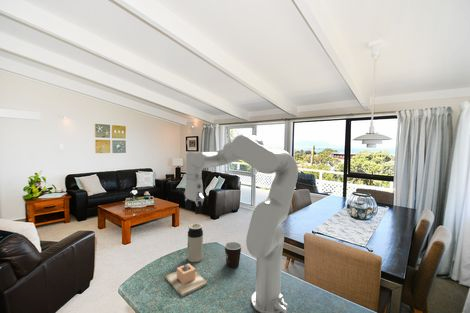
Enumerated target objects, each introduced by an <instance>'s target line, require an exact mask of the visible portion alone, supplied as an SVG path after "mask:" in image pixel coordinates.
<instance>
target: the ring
mask: <svg viewBox="0 0 470 313" xmlns="http://www.w3.org/2000/svg"><path fill="white" fill-rule="evenodd" d="M187 264H188V270H187V271H185V272H184V265H185V264H184V265H181V266H178V267H176V271H177V278H178V279H179V281H180V282H181V283H182V284H185V283H187V282H190V281H192V280H194V279H195V274H196V273H197V270H196V268H195V267H194V266H193V265H191V263H187Z"/></svg>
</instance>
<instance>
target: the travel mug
mask: <svg viewBox="0 0 470 313" xmlns="http://www.w3.org/2000/svg"><path fill="white" fill-rule="evenodd" d="M203 243H204V230H203V224H202V223H191V224H189V225H188V231H187V261H188V262H191V263H198V262H200V261H202V260H203V257H204V256H203V255H204V254H203V251H204V250H203V249H204V244H203Z"/></svg>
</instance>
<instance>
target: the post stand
mask: <svg viewBox="0 0 470 313" xmlns="http://www.w3.org/2000/svg"><path fill="white" fill-rule="evenodd" d="M187 270H188V263H187V264H184V272H185V271H187ZM165 279H166V280H167V282H168V283H169V285H171V286H172V287H173V288H174V290H176V292H177V293H178V294H179V295H180V297H181V298H184V297H185V296H187V295H190V294H191V293H193V292H196V291H198V290H199V289H201V288H203V287H206V286H207V285H208V281H207V280H205V279H204V277H202V276H201V275H200V274H199V273H198V272H196V274H195V279H194V280H192V281H190V282H187V283H185V284H182V283H181V282H180V281H179V279H178V278H177V270H176V271H173V272H170V273H168V274H166V275H165Z"/></svg>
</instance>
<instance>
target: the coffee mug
mask: <svg viewBox="0 0 470 313" xmlns="http://www.w3.org/2000/svg"><path fill="white" fill-rule="evenodd" d="M224 250H225V251H224V253H225V264H226V267H227V268H228V269H229V268H230V269H236V268H238V267H239V266H240V259H241V252H242V244H241V243H239V242H236V241H229V242H226V243H225V244H224Z"/></svg>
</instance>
